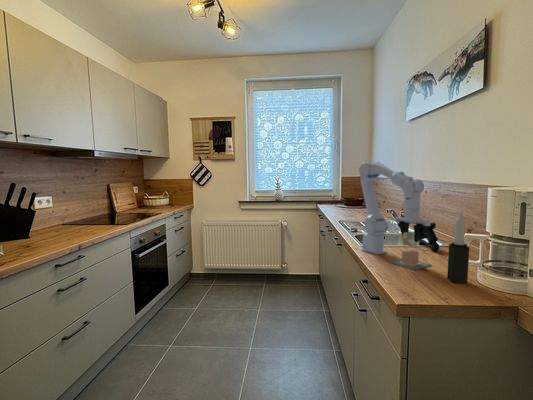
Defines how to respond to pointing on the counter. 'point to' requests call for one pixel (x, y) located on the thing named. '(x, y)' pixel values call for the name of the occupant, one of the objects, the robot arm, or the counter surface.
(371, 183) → the robot arm
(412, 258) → the block brown
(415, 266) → the board
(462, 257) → the black and grey bottle
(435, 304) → the counter surface
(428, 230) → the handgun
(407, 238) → the block cream
